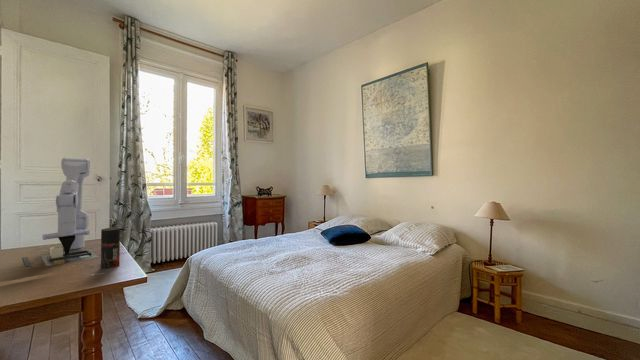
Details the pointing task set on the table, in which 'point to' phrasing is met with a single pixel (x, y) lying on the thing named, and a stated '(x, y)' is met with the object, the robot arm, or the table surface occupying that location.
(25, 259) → the dark gray bar
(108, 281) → the table surface
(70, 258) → the panel
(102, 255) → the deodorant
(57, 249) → the toggle
